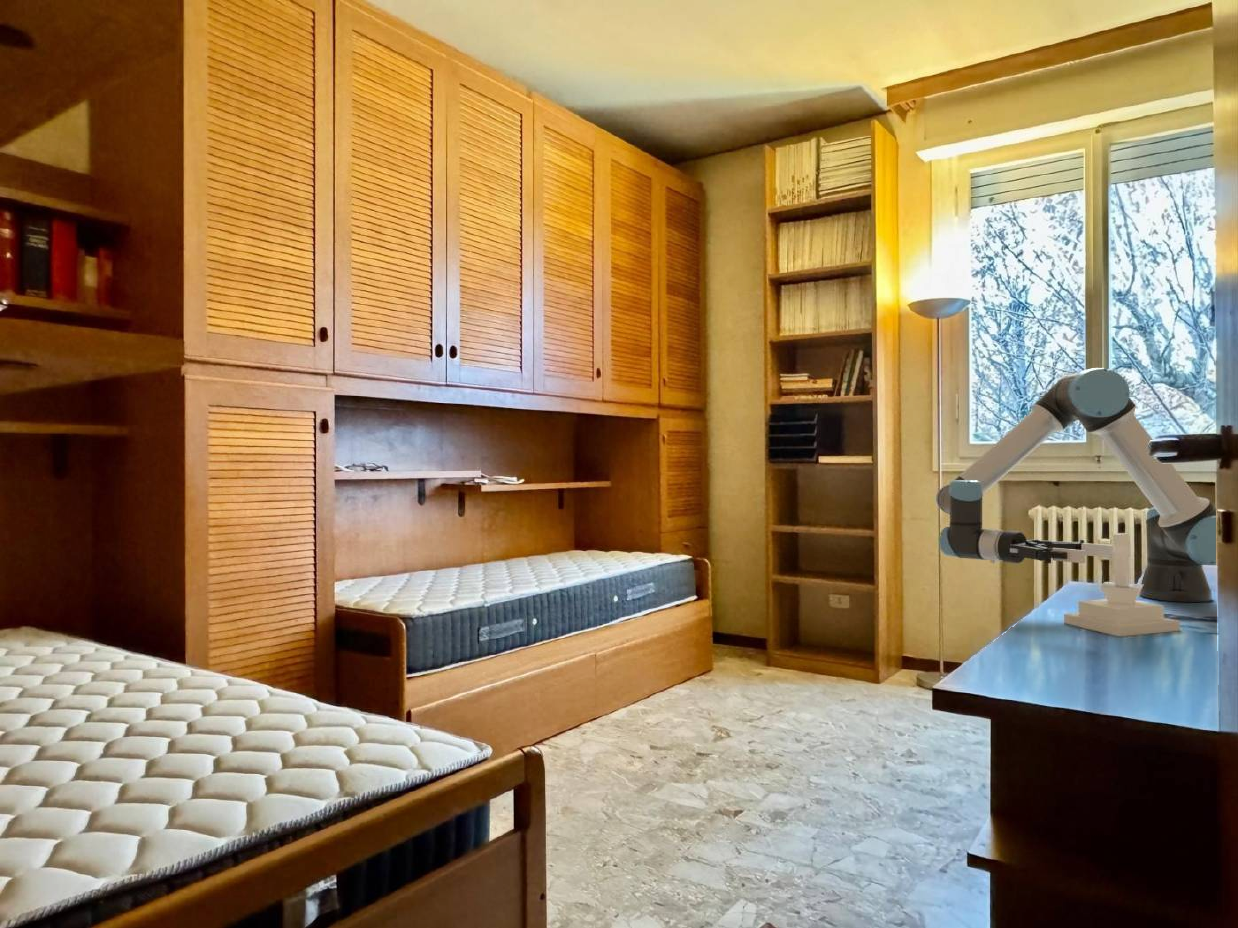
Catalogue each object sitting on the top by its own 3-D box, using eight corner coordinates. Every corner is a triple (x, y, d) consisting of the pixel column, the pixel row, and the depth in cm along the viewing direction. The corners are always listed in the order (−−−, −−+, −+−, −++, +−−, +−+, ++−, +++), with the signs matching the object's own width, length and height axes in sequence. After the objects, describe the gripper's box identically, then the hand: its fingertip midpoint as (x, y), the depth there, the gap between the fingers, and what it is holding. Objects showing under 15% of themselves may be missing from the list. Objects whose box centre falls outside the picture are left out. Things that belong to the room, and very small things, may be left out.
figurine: (1099, 604, 172) (1098, 534, 172) (1106, 597, 179) (1105, 530, 179) (1139, 607, 167) (1138, 535, 167) (1144, 600, 175) (1143, 531, 174)
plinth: (1122, 617, 181) (1121, 595, 181) (1180, 630, 168) (1180, 606, 167) (1064, 622, 177) (1063, 600, 177) (1119, 636, 163) (1118, 611, 163)
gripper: (1030, 557, 200) (1124, 565, 183) (975, 566, 185) (1071, 577, 168) (1030, 527, 200) (1123, 532, 183) (975, 534, 185) (1071, 541, 168)
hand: (1099, 554), depth 175 cm, fingers open, 13 cm apart
